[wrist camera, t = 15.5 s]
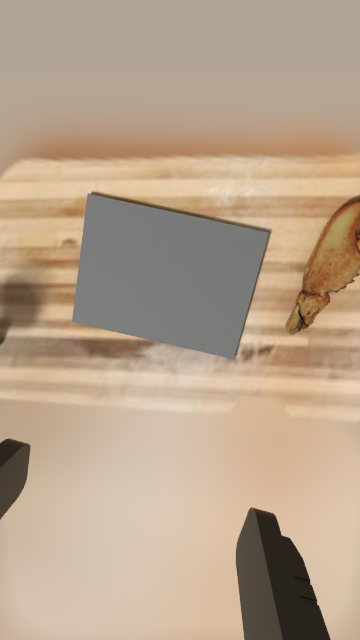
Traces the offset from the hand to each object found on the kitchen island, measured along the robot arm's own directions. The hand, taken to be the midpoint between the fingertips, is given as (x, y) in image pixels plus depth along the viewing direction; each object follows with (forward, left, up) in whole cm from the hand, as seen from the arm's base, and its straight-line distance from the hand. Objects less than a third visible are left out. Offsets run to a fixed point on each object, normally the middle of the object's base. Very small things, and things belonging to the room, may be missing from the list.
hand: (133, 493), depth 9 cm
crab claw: (-14, -2, -27) cm, 31 cm away
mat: (+4, -5, -30) cm, 31 cm away
